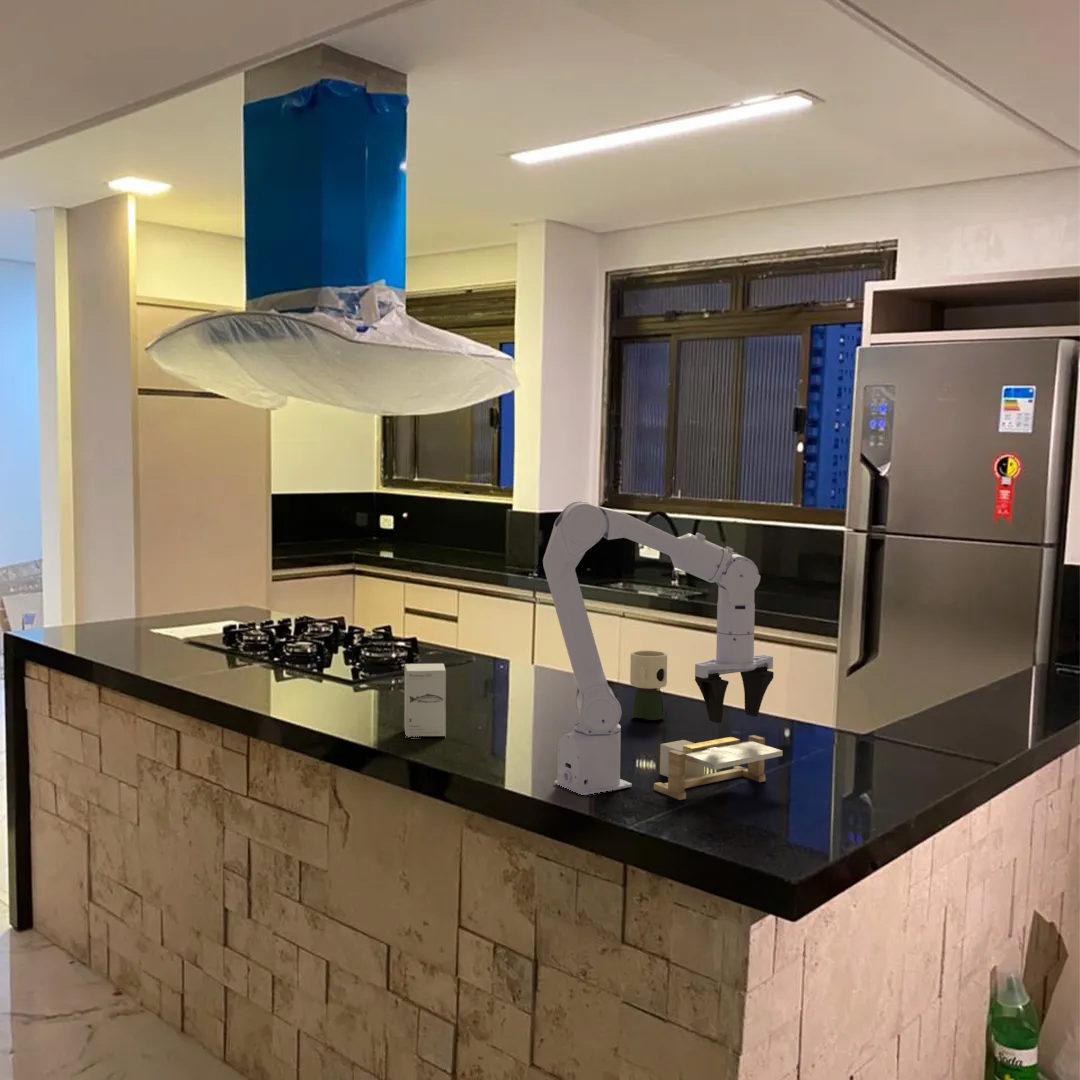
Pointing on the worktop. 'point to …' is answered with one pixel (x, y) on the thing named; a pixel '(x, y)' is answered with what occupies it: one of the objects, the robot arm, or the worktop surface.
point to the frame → (679, 782)
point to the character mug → (648, 683)
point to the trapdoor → (728, 752)
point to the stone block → (690, 767)
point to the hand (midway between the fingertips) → (733, 718)
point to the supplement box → (425, 700)
